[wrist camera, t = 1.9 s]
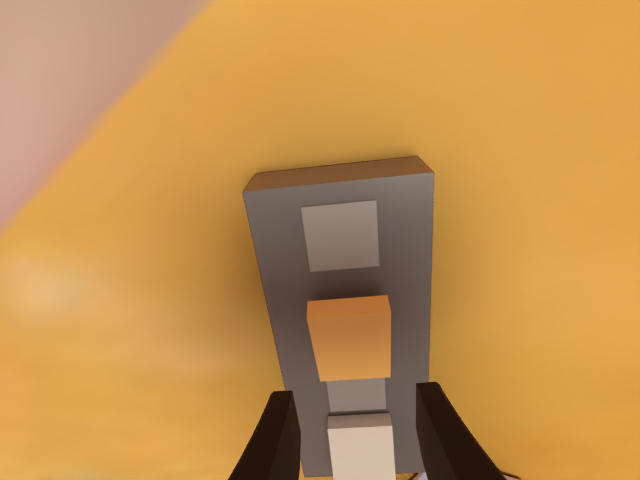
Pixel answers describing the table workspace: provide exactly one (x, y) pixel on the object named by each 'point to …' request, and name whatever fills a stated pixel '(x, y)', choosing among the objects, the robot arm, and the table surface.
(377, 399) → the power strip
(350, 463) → the beige rectangular slab
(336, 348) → the block
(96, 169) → the table surface
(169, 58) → the table surface
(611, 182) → the table surface
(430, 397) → the robot arm
